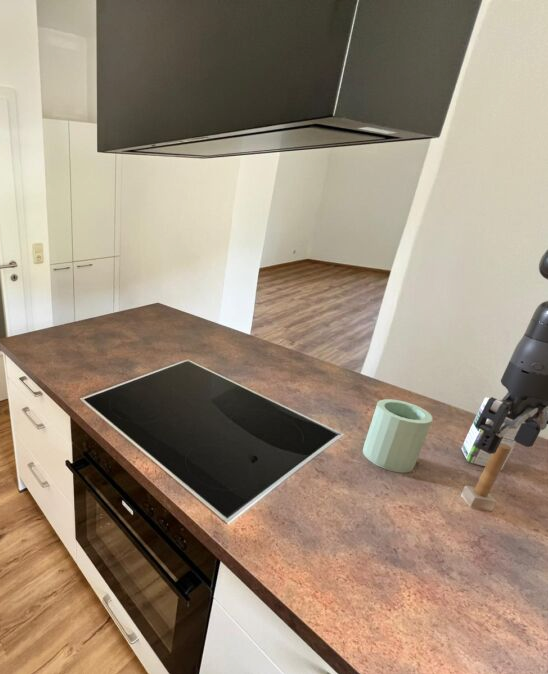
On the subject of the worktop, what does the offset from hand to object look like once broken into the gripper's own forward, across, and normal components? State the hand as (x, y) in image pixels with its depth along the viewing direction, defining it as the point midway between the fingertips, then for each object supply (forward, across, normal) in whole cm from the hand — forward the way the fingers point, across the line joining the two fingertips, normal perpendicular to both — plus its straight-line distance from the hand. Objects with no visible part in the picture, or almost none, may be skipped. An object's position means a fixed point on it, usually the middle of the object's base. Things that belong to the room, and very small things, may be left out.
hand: (503, 447), depth 64 cm
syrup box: (+15, -18, -11) cm, 26 cm away
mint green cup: (+15, +2, -16) cm, 22 cm away
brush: (+15, 0, 0) cm, 15 cm away
